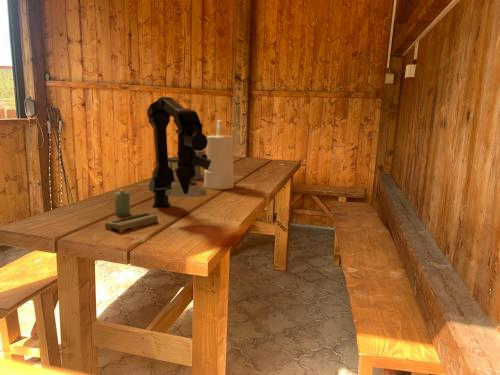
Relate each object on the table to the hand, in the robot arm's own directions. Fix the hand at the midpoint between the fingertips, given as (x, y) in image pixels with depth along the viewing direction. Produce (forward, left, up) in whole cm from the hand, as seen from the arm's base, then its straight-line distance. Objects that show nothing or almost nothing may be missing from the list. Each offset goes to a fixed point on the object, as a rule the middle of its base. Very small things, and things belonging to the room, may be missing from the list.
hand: (186, 191), depth 136 cm
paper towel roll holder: (-60, +16, -11) cm, 63 cm away
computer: (+5, -18, -11) cm, 22 cm away
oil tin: (-8, -23, -10) cm, 27 cm away
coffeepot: (-81, +2, -11) cm, 82 cm away
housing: (0, 0, -1) cm, 1 cm away
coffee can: (-58, -5, -11) cm, 59 cm away
